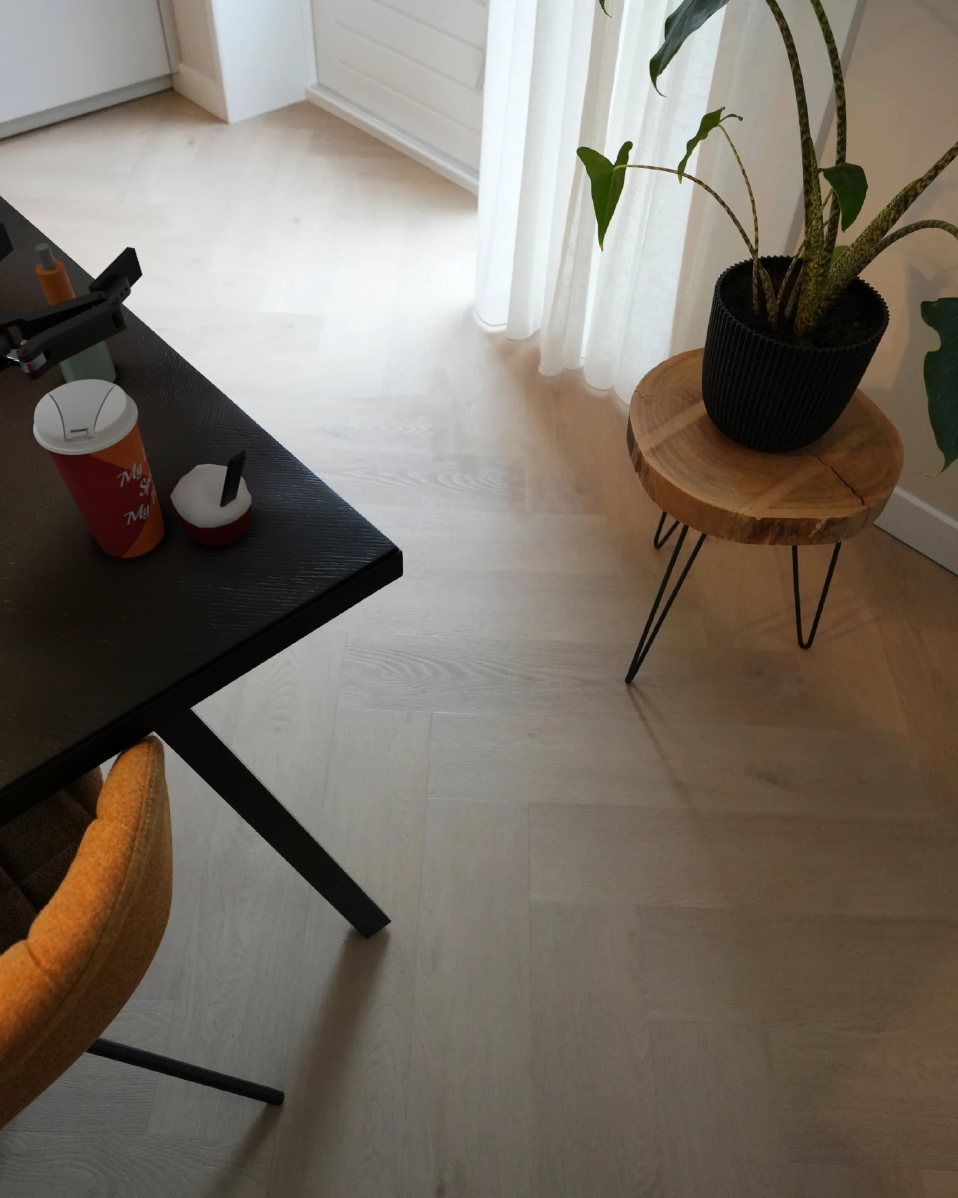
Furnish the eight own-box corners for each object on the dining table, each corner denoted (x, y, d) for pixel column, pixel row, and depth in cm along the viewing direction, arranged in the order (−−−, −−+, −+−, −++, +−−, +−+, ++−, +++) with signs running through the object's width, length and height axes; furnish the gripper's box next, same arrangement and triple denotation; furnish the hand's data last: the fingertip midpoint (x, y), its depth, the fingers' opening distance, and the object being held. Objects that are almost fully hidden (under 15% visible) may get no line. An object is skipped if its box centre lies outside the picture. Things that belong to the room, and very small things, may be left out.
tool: (73, 380, 95) (22, 252, 85) (85, 365, 97) (36, 237, 86) (96, 384, 95) (47, 255, 84) (107, 369, 97) (60, 240, 86)
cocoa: (172, 511, 85) (135, 404, 76) (240, 488, 87) (212, 380, 77) (206, 584, 80) (170, 479, 70) (277, 558, 82) (252, 452, 72)
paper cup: (178, 559, 81) (132, 432, 71) (84, 574, 80) (23, 447, 69) (176, 495, 86) (133, 367, 75) (87, 508, 85) (31, 380, 74)
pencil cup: (58, 390, 95) (33, 330, 90) (81, 360, 98) (58, 301, 93) (102, 397, 95) (80, 337, 89) (124, 367, 98) (103, 307, 92)
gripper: (-186, 395, 81) (-31, 261, 94) (75, 457, 77) (200, 307, 89) (-237, 319, 75) (-65, 187, 88) (42, 382, 71) (181, 233, 84)
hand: (69, 247), depth 89 cm, fingers open, 13 cm apart
